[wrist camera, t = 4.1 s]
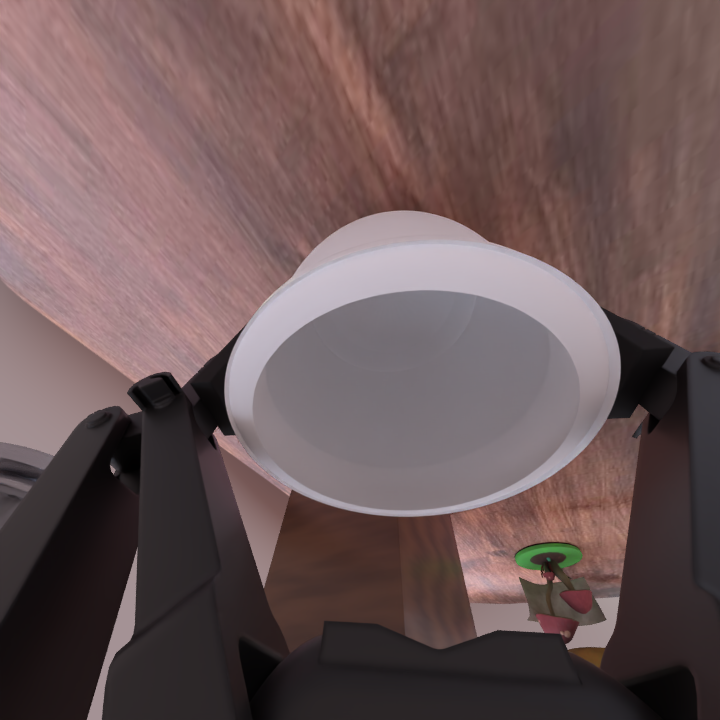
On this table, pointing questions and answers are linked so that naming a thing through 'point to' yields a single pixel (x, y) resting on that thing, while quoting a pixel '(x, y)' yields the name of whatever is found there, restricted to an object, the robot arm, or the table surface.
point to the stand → (367, 574)
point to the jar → (420, 370)
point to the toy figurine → (560, 595)
